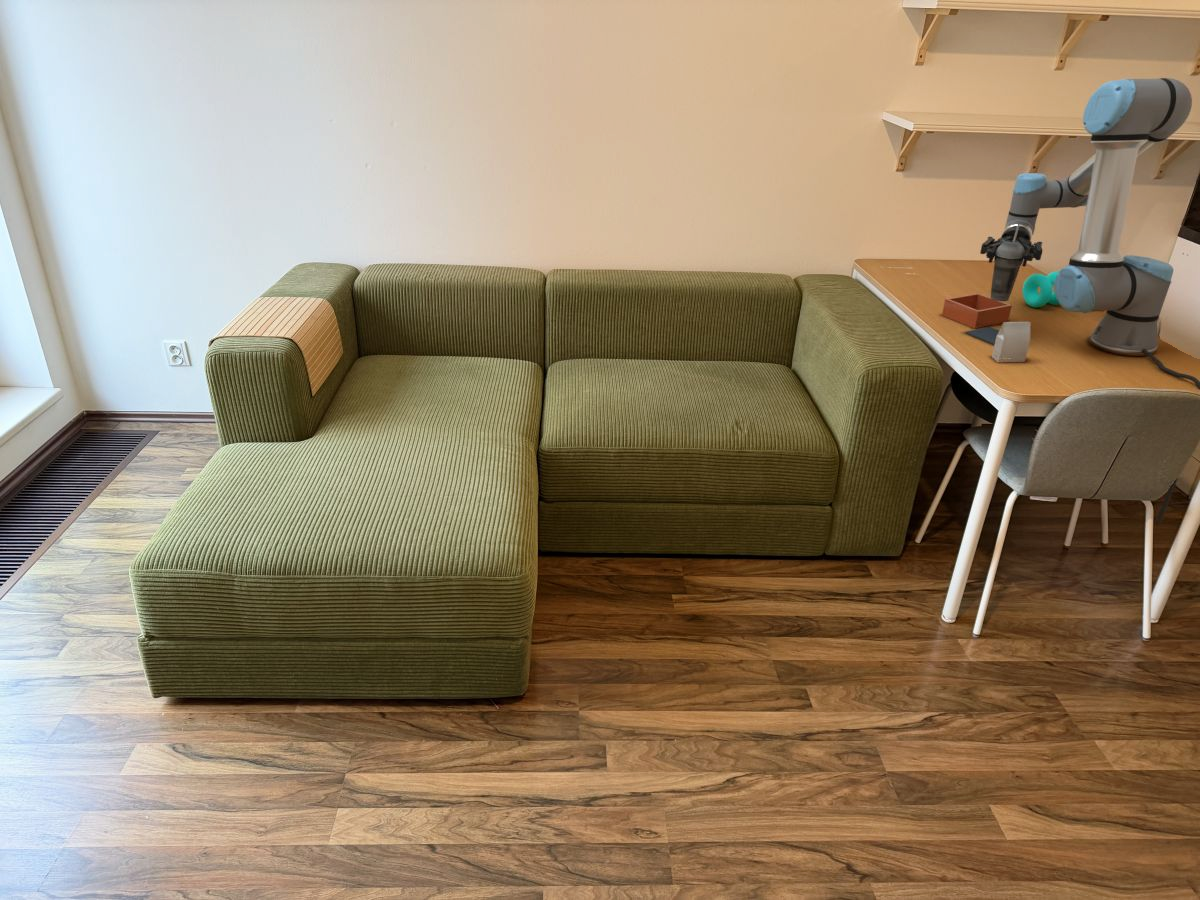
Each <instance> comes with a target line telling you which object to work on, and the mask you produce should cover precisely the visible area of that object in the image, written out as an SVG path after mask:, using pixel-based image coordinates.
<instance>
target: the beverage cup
mask: <svg viewBox="0 0 1200 900" xmlns="http://www.w3.org/2000/svg"><path fill="white" fill-rule="evenodd" d="M1019 226H1020V225H1017V229H1016V232H1015V236H1014V239H1013V240H1009V241H1006V242H1004V243H1002V244H1001V245H1000V246H999V247H998V249H997V250H996V253H995V255H994V259H993V263H994V265H993V274H992V280H991V288H990V296H989V297H990V298H991V299H992V300H995V301H1001V302H1008V301H1009V300H1010V297H1011V296H1012V291H1013V289H1014V286H1015V283H1016V280H1017V277H1018V274H1019V271H1020V268H1021V266H1022V265H1023V261H1024V257H1025V251H1024V247H1023V246H1022V244H1021V243H1019V242H1017V241H1015V240H1016V236H1017V233H1018V229H1019Z"/></svg>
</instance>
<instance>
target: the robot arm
mask: <svg viewBox="0 0 1200 900" xmlns="http://www.w3.org/2000/svg"><path fill="white" fill-rule="evenodd" d="M1192 106H1193V97H1192V93H1191V90H1190V89H1189V88H1188V86H1187V85H1186V84H1185V83H1183V82H1182V81H1180V80H1178V79H1175V78H1171V77H1160V78H1124V79H1115V80H1110V81H1107V82H1105V83H1103V84H1102V85H1100V86H1099V87H1098V88H1096V90H1095V91H1094V92H1093V93H1092V94H1091V96H1090V97H1089V99H1088V101H1087V102H1086V104H1085V108H1084V111H1083V117H1082V123H1083V125H1084V130H1085V131H1086V132H1087V133H1088V134H1089V135H1091V137H1090V144H1091V145H1092V146H1093V147H1094V148H1095V150H1096V151H1095V154H1093V155H1092V156H1091V157H1090V158H1088V159H1087V160H1086V161H1085V162H1084V163H1083V164H1082V165H1080V166H1079V167H1078V168H1077V169H1076V170H1074V171H1073V172H1072V173H1071V174H1070V175H1069V176H1067V177H1066V178H1065V179H1057V180H1056V179H1053V180H1052V179H1051V180H1047V175H1046V174H1044V173H1038V172H1024V173H1020V174H1019V175H1018V176H1017V177H1016V180H1015V184H1014V186H1013V190H1012V196H1011V202H1010V207H1009V210H1008V214H1007V217H1006V222H1005V227H1004V230H1003V231H1002V234H1001V236H1000V237H999V238H997V239H996V238H994V237H992V236H988V237H987V239H986V240H985V241H984V242H983V243H982V244H981V249H980V252H979V253H980V254H981V255H985V254H986V255H985V257H986V258H987V259H988V263H989V264H992V263H993V262H994V257H995V256H994V255H995V253H996V250H997V249H998V247H999V246H1000V245H1001V244H1002V243H1004V242H1006V241H1009V240H1013V239H1014V236H1015V232H1016V229H1017V225H1020V226H1019V229H1018V233H1017V236H1016V240H1015V241H1017V242H1019V243H1021V244H1022V246H1023V247H1024V251H1025V257H1024V259H1023V262H1022V264H1021V266H1022V267H1026V266H1027V264H1028V262H1032V261H1033V259H1034V260H1036V261H1041V259H1042V255H1043V241H1037V242H1034V243H1032V238H1033V236H1034V233H1035V230H1036V224H1037V218H1038V216H1039V211H1040V209H1059V208H1060V209H1061V208H1071V209H1072V208H1074V209H1075V208H1080V207H1085V211H1084V217H1083V222H1082V227H1081V233H1080V238H1079V245H1078V250H1077V251H1076V252H1075V253H1073V254H1071V256H1070V257H1069V262H1068V265H1066V266H1065V267H1062V268H1061V269H1060V270H1058V271H1059V273H1058V274H1057V276H1056V279H1055V285H1053V288H1054V292H1055V295H1056V298H1057V300H1058V301H1059V306H1061V307H1062V308H1063V309H1064V310H1065V311H1067V312H1070V313H1083V314H1087V313H1092V312H1093V313H1094V312H1095V313H1096V312H1105V315H1103V317H1102V318H1101V320H1100V321H1099V323H1098V324H1097V325H1096V327H1095V328H1094V330H1093V331H1092V333H1091V335H1090V338H1089V343H1090V344H1091V345H1092V346H1093V347H1095V348H1096V349H1098V350H1101V351H1104V352H1108V353H1110V354H1115V355H1121V356H1127V357H1128V356H1129V357H1145V356H1146V357H1148V359H1150V360H1151V361H1152V362H1154V363H1155V364H1156V365H1157V366H1158V367H1159V369H1160V370H1162V371H1163V372H1165V373H1167V374H1170V375H1172V376H1174V377H1177V378H1182V379H1186V380H1188V381H1189V380H1190V381H1191V382H1193V383H1194V384H1195V385H1196V387H1197V389H1198V390H1200V379H1198V378H1197V377H1195V376H1194V375H1190V374H1186V373H1181V372H1178V371H1175V370H1173V369H1171V368H1168V367H1166V366H1165V365H1164V363H1163V362H1162V361H1161V360H1160V359H1158V357H1156V356H1155V355H1154V354H1156V353H1157V350H1158V347H1159V331H1158V329H1159V328H1158V321H1159V318H1160V314H1161V311H1162V310H1163V306H1164V303H1165V300H1166V298H1167V294H1168V291H1169V289H1170V286H1171V284H1172V278H1173V274H1174V268H1173V266H1172V265H1171V264H1170V263H1168V262H1165V261H1162V260H1159V259H1157V258H1151V257H1146V256H1141V255H1140V256H1139V255H1134V254H1133V255H1132V254H1131V255H1130V254H1128V255H1124V256H1122V255H1121V254H1120V253H1119V249H1120V244H1121V240H1122V234H1123V229H1124V224H1125V219H1126V215H1127V208H1128V203H1129V198H1130V194H1131V189H1132V185H1133V184H1132V183H1133V179H1134V175H1135V168H1136V165H1137V158H1138V157H1139V156H1140V155H1141V154H1143V153H1144V152H1145V151H1147V150H1148V149H1149V148H1150V147H1152V146H1154V144H1157V143H1162V142H1164V141H1166V140H1167V139H1168V138H1170V137H1171V136H1173V134H1175V133H1176V132H1177V131H1178V130H1179V129H1180V128H1182V126H1183V125H1184V124H1185V122H1186V120H1187V119H1188V118H1189V116H1190V113H1191V110H1192ZM1178 479H1179V477H1178V478H1177V479H1176V480H1175V481H1174V483H1173V484H1172V485H1171V486H1170V485H1169V487H1170V488H1168V489H1167V492H1166V494H1165V497H1164V500H1163V502H1162V504H1161V508H1160V510H1159V513H1158V515H1157V518H1156V521H1155V523H1156V524H1159V525H1160V524H1161V523H1162V520H1163V517H1164V514H1165V512H1166V509H1167V507H1168V504H1169V502H1170V500H1171V497H1172V494H1173V491H1174V489H1175V487H1176V485H1177V482H1178Z"/></svg>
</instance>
